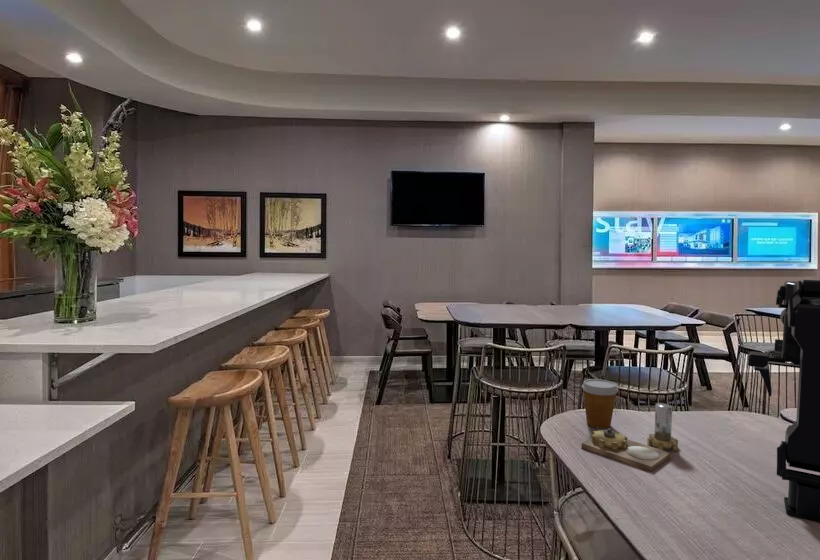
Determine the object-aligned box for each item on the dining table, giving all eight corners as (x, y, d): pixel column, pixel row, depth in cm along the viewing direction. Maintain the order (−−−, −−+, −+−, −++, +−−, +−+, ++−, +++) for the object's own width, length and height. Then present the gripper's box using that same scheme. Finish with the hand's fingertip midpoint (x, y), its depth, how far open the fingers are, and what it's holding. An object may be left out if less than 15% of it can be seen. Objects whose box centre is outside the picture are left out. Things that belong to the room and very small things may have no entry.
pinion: (675, 454, 118) (677, 412, 117) (645, 447, 122) (647, 407, 121) (678, 444, 124) (680, 404, 123) (650, 438, 128) (651, 399, 127)
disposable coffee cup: (599, 416, 144) (600, 377, 143) (624, 428, 135) (625, 386, 134) (573, 421, 140) (574, 380, 139) (597, 433, 131) (598, 389, 130)
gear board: (670, 457, 116) (671, 438, 116) (651, 471, 109) (652, 451, 109) (602, 436, 129) (603, 419, 129) (581, 447, 122) (582, 429, 121)
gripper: (847, 334, 114) (843, 398, 116) (751, 326, 126) (747, 385, 127) (853, 341, 106) (848, 411, 107) (749, 332, 117) (746, 395, 118)
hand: (794, 399), depth 115 cm, fingers open, 9 cm apart
